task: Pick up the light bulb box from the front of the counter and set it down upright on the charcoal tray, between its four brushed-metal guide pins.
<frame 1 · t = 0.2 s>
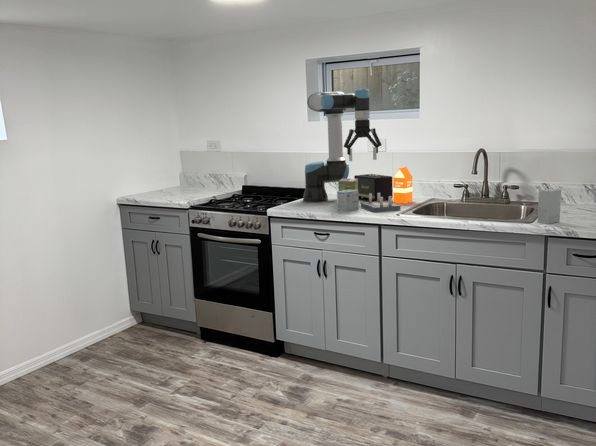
hand: (362, 160, 291), 27 cm above the countertop, tool pointing down, fingers open, 13 cm apart
orange juice: (402, 202, 321), on the countertop
tea box: (348, 205, 317), on the countertop
light bulb box: (348, 210, 300), on the countertop
skincare box: (548, 222, 248), on the countertop
speaker: (373, 199, 336), on the countertop
pin tray: (380, 208, 301), on the countertop
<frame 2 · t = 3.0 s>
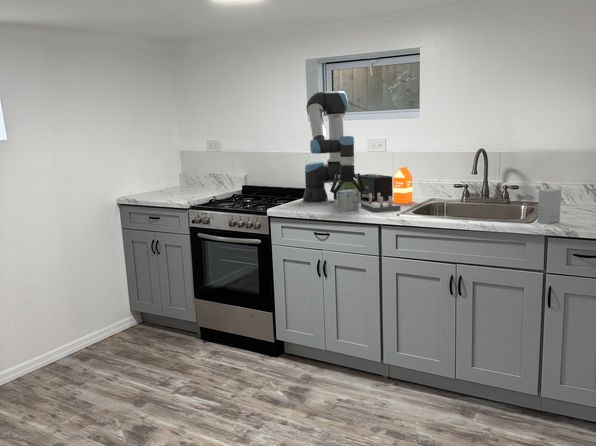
hand: (348, 204, 300), 3 cm above the countertop, tool pointing down, fingers closed on light bulb box, 12 cm apart
light bulb box: (348, 210, 300), on the countertop, touching gripper
everything else where it was.
when the fingers open (7 cm above the countertop, at t = 9.1 s): light bulb box stays where it is, resting on pin tray.
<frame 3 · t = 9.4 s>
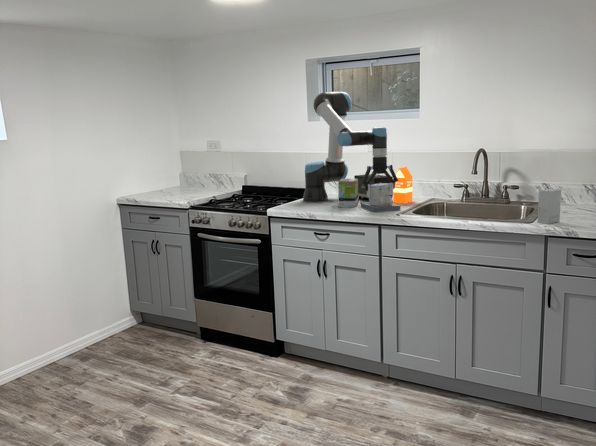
hand: (380, 195, 299), 7 cm above the countertop, tool pointing down, fingers open, 13 cm apart
light bulb box: (379, 204, 300), point 2 cm above the countertop, touching pin tray
everything else where it was.
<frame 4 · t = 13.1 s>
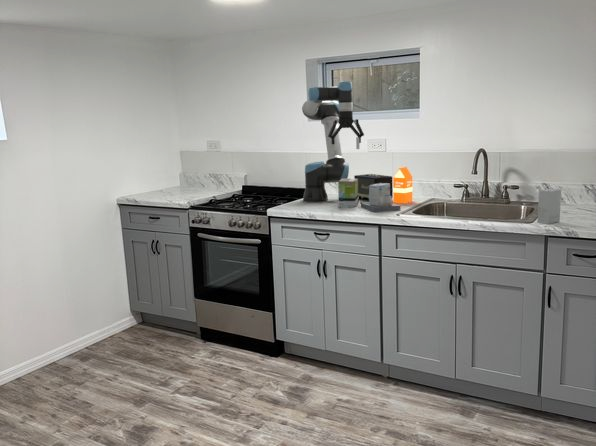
hand: (346, 149, 307), 32 cm above the countertop, tool pointing down, fingers open, 13 cm apart
nothing on the countertop moved.
at the end: light bulb box 0.2 cm off-centre on the pin tray, point 2.4 cm above the pin tray's base; light bulb box tilted 0°; the gripper is holding nothing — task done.
